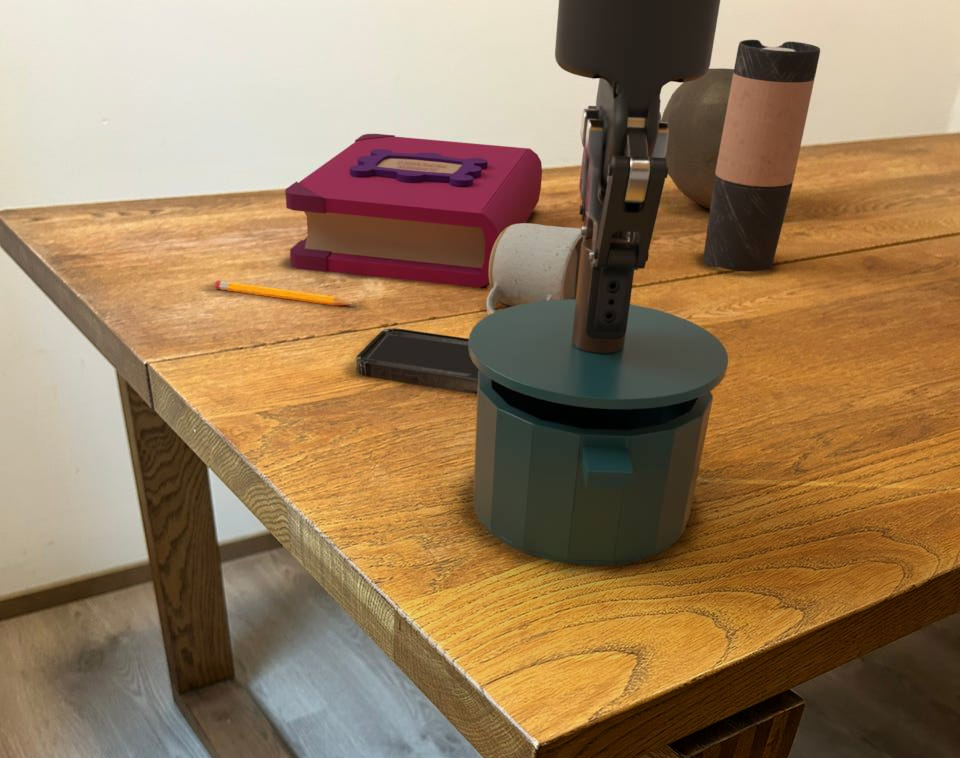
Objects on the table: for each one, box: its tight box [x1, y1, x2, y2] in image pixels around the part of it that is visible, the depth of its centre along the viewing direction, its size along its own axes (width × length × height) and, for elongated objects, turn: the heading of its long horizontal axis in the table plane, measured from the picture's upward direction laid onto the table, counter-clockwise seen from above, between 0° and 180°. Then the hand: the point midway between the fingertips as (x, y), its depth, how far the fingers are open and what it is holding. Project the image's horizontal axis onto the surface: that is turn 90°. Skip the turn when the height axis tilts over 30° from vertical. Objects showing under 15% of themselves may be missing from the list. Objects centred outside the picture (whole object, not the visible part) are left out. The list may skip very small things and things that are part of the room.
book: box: [284, 133, 543, 289], centre depth 105 cm, size 21×28×8 cm
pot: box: [472, 370, 714, 566], centre depth 61 cm, size 14×19×8 cm
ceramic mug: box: [485, 222, 583, 316], centre depth 88 cm, size 11×8×8 cm
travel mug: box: [702, 39, 821, 272], centre depth 98 cm, size 8×8×20 cm
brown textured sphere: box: [661, 67, 734, 210], centre depth 117 cm, size 14×14×15 cm
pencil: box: [214, 280, 353, 307], centre depth 91 cm, size 1×13×1 cm, turn 75°
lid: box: [468, 238, 729, 409], centre depth 56 cm, size 15×15×7 cm
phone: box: [355, 327, 479, 394], centre depth 80 cm, size 8×1×15 cm
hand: (601, 322), depth 56 cm, fingers closed on lid, 3 cm apart
